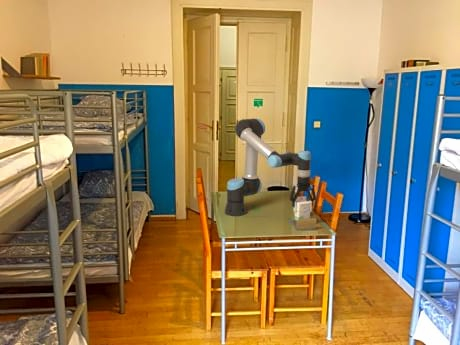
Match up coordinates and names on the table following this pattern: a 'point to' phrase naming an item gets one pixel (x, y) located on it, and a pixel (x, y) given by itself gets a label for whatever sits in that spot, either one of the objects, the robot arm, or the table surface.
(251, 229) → the table surface
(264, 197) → the table surface
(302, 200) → the ink box
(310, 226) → the bracket
